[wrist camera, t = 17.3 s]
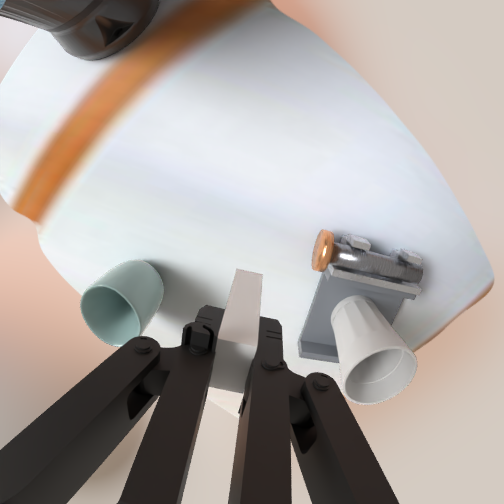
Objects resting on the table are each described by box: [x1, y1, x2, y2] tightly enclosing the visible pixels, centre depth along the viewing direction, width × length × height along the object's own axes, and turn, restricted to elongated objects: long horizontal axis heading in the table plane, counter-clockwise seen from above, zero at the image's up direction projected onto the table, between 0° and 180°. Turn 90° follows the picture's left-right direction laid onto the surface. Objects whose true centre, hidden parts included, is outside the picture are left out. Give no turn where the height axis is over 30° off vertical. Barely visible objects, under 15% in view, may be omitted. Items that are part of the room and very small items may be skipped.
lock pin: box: [312, 229, 423, 284], centre depth 30 cm, size 13×4×4 cm, turn 78°
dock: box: [298, 267, 416, 363], centre depth 34 cm, size 12×12×3 cm
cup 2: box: [331, 295, 417, 405], centre depth 30 cm, size 8×8×12 cm
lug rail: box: [328, 234, 423, 295], centre depth 31 cm, size 4×12×4 cm, turn 78°
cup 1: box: [80, 260, 164, 347], centre depth 32 cm, size 8×8×10 cm
